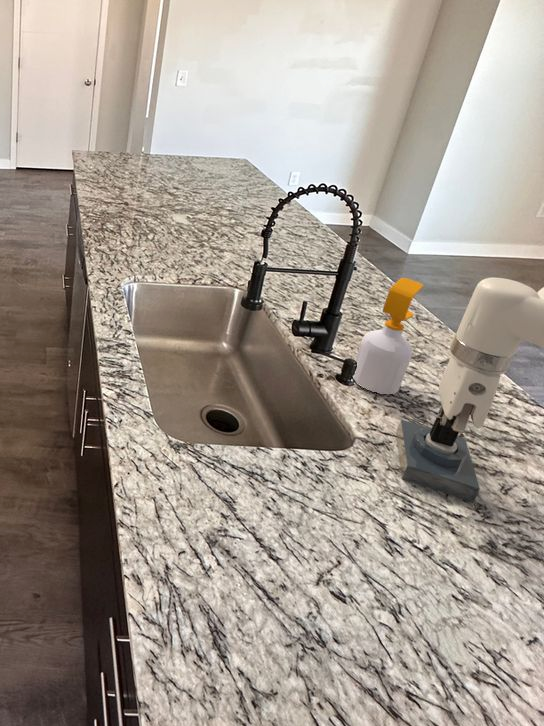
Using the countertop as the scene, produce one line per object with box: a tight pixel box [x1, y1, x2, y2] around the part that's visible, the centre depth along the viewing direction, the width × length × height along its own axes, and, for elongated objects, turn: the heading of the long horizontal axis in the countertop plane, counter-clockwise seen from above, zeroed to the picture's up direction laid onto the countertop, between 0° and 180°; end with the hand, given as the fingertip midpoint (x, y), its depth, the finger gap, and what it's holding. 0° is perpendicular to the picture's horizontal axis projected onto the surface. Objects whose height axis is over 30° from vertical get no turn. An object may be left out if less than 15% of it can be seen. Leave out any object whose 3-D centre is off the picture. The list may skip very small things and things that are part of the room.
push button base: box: [395, 418, 481, 504], centre depth 94 cm, size 10×13×5 cm
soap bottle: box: [354, 277, 424, 395], centre depth 111 cm, size 9×9×25 cm
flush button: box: [424, 433, 457, 454], centre depth 93 cm, size 4×4×2 cm
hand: (440, 440), depth 93 cm, fingers closed
